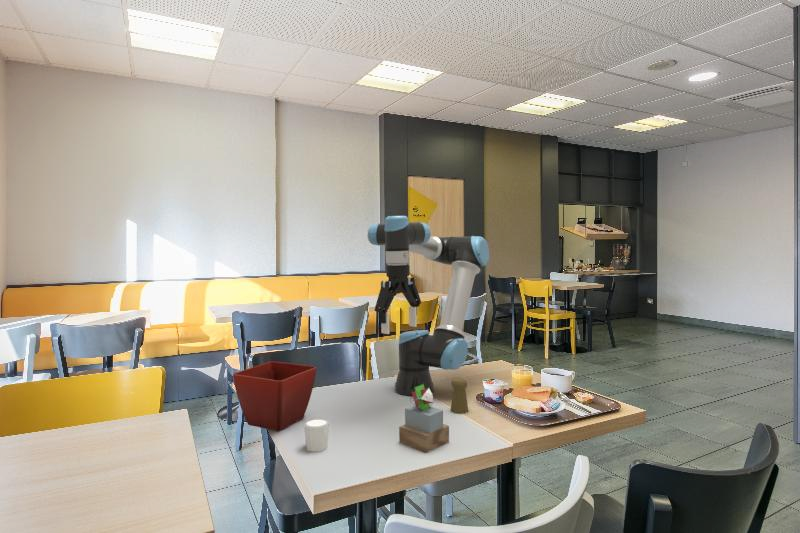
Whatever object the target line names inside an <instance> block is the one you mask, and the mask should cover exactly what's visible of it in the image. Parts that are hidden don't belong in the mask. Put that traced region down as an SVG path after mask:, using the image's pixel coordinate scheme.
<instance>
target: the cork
mask: <svg viewBox="0 0 800 533" xmlns="http://www.w3.org/2000/svg"><path fill="white" fill-rule="evenodd" d="M451 386H452V389H453V390H452V398H451V403H450V404H451V405H450V412H451V413H453V414H458V415H460V414H461V413H464V414H466V412H467V413H469V406H468V398H467V390H466V388H468V382H467V380H466V379H465V378H464V377H463V378H462V377H456V378H455V377H454V378H453V379H452V380H451ZM461 415H462V414H461Z"/></svg>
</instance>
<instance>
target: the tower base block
mask: <svg viewBox="0 0 800 533" xmlns="http://www.w3.org/2000/svg"><path fill="white" fill-rule="evenodd" d="M398 430H399V432H398V433H399V434H398V435H399V438H398V439H399V444H401V445H404V446H407V447H409V448H412V449H415V450H417V451H420V452H423V453H426V454H427V453H430V452H432V451H433V450H436V449H437V448H440V447H441V446H444V445H446V444H447V443H448V444H449V442H450V426H449V425H448V424H444V423H443V428H441V429H439V430H437V431H435V432H433V433H431V434H429V433H425V432H422V431H419V430H416V429H413V428H410V427H407V426H405V424H402V425H400V426H399V427H398Z"/></svg>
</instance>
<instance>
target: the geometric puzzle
mask: <svg viewBox="0 0 800 533" xmlns="http://www.w3.org/2000/svg"><path fill="white" fill-rule="evenodd" d="M425 386H426V385H425ZM414 388H415V390H414V391H415V392H412V394H411V395H413V396H412V397H410V399H409V402H410V403H411V402H413V401H414V403H412V406H413V405H416V407H418V406H420V408H421V411H423V410H425V409H427V408H431V407H433V406H432V405H433V403H434V399H435V398H434V397H435V395H436V392H432V393H431V391H432V390H431V391H430V389H429V388H426V389H425V388H424V384H422V385H420V386H417V387H414ZM433 395H434V396H433ZM412 398H413V399H412ZM411 399H412V400H411ZM418 409H419V408H418ZM419 410H420V409H419Z"/></svg>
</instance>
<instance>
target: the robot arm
mask: <svg viewBox="0 0 800 533" xmlns="http://www.w3.org/2000/svg"><path fill="white" fill-rule="evenodd" d="M367 239H368V242H369V243H370V244H371V245H372V246H373V245H374V246H385V264H387V265H386V266H385V273H386V277H387V278H388V280H381V282H380V289H379V293H378V296H377V300H376V304H375V307H374V311H375V312H377V313H378V314H379V322H380V324H381V325H380V328H381V329H380V331H381V333H380V334H385V335H386V334H387V335H389V334H390V314H389V312H388V310H389V308H390V306H391V304H392V302H393V300H394V298H395V296H397V295H399V294H402V295H403V296H404V298H405V299H406V302H408V303H409V306H408V326H409V327H414V328H416V327H417V326H418V323H417V322H418V321H417V320H418V319H417V316H418V308H419V307H420V306H421V304H422V300H421V297H420V294H419V292H418V289H417V285H416V281H415V277H411V276H410V275H411V274H410V272H411V271H410V268H411V267H410V264H409V263H410V253H413V254H416V255H420V256H423V257H424V258H425V259H427V260H430V261H434V262H436V263H441V264H443V265H448V266H451V267H452V268H453V271H452V272H453V273H452V277H451V281H450V283H449V288H448V292H447V296H446V300H445V303H444V307H443V311H442V315H441V319H440V322H439V323H440V324H439V326H437V327H435V328H434V330H433V334H432V335H431V334H430V331H429V330H428V329H417V330H409V331H403V332H401V333H400V334H399V336H398V339H399V340H398V368H399V369H398V373H397V376H396V381H395V383H394V391H395V393H397V394H400V395H403V396H410V397H413V395H411V394H412V392H415V391H414V390H415V388H414V387H417V386H420V385H422V384H424V388H425V389H426V388H429V389H430V391H431V390H432V391H431V393H432V394H433V393H434V390H435V388H434V386H435V384H434V382H433V380H432V375H431V372H430V367H432V368H437V369H443V370H447V371H448V370H449V371H451V370H452V371H455V370H456V371H457V370H458V369H460V367H462V366H463V364H465V361H466V360H467V356H468V353H469V351H468V350H469V349H468V342H467V341H466V340H465V338H466V336H465V335H464V333H463V328H464V325H465V324H464V323H465V320H466V315H467V312H468V306H469V303H470V298H471V294H472V290H473V285H474V282H475V278H476V276H477V275H478V274H480V273H481V268H482V267H484V266H487V265H488V264H489V261H490V249H489V248H490V247H489V244H488V242H487V240H486V239H485V238H484V237H482V236H475V235H471V236H442V237H440V236H439V237H437V236H434V235H432V236H431V228H430V226H429V225H428V224H426V223H425V222H420V221H414V222H413V221H412V222H411V221H409V217H408V216H407V215H391V216H390V215H388V216H386V217H385V219H384V223H375V224H372V225H370V226H369V228H368V230H367ZM409 276H410V277H409ZM425 385H426V386H425Z"/></svg>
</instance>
